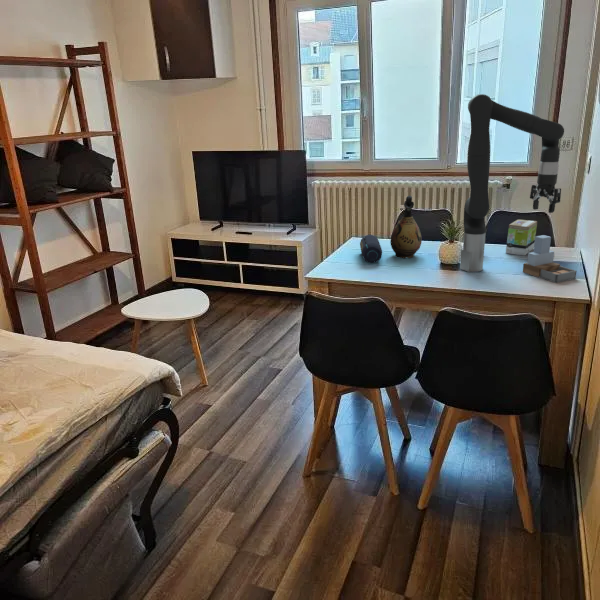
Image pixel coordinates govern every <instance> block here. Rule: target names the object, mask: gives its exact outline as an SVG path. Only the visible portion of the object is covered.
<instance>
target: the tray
mask: <svg viewBox="0 0 600 600" xmlns="http://www.w3.org/2000/svg"><path fill="white" fill-rule="evenodd" d="M560 270H565V271H569V272H566V273H561V274H554V273H552V272H556V271H560ZM539 278H540V279H543V280H546V281H550V282H552V283H555V284H558V283H562V282H566V281H572V280H575V279H576V278H577V270H575V269H571V268H569V267H565V266H562V265H560V266H559V269H558V270H553V271H545V270H541V274H540V277H539Z"/></svg>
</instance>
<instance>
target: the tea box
mask: <svg viewBox="0 0 600 600" xmlns="http://www.w3.org/2000/svg"><path fill="white" fill-rule="evenodd" d="M537 227H538V221H537V220H528V219H527V220H526V219H516V220H515V221H512V222H511V223H510V224H509V225H508V230H507V231H508V232H507V238H506V239H507V240H506V246H505V253H506V254H509V255H510V254H511V255H518V256H526V255H528V253H531V252H532V251H534V243H535V237H536V236H537V235H536V234H537Z"/></svg>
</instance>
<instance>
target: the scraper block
mask: <svg viewBox="0 0 600 600" xmlns="http://www.w3.org/2000/svg"><path fill="white" fill-rule="evenodd" d="M551 240H552V237H551V236H549V235H545V234H542V235H535V243H534V249H533V251H530V252H529V253H527V261H526V263H527V264H529V265H532V266H538V265H543V264H548V263H553V262H554V260H555V259H554V257H555V251H554V250H551V249H550V248H551V243H552V242H551Z"/></svg>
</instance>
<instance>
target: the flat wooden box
mask: <svg viewBox="0 0 600 600" xmlns="http://www.w3.org/2000/svg"><path fill="white" fill-rule="evenodd" d="M559 266H561V264H560V263H557V262H554V261H553V263H548V264H543V265H538V266H532V265H529V264H527V262H524V263H523V266H522V272H523V273H525V274H528V275H531V276H534V277H536V278H540V274H541V270H545V271H553V270H558V269H559Z"/></svg>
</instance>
